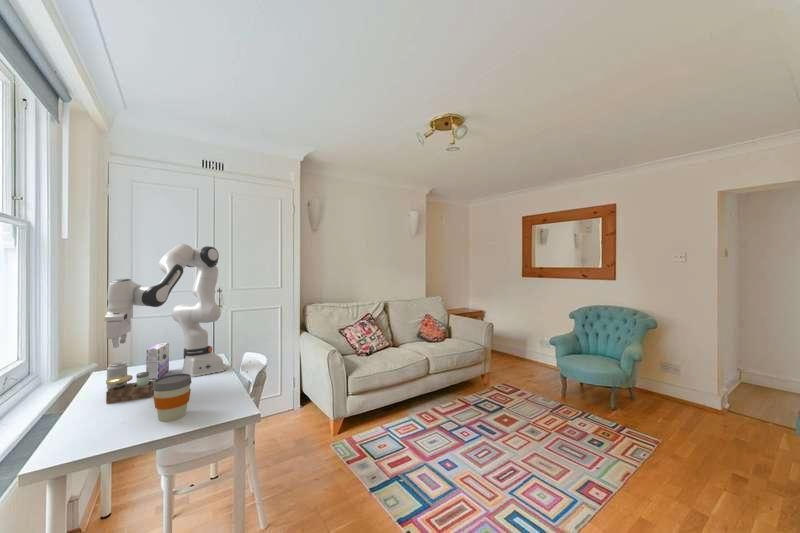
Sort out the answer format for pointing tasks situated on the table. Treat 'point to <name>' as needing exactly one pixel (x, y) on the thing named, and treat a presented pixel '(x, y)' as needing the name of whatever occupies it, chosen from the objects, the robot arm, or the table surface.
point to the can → (116, 371)
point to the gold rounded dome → (119, 380)
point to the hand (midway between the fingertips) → (119, 345)
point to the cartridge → (142, 379)
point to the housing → (129, 392)
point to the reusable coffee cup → (171, 396)
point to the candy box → (157, 360)
